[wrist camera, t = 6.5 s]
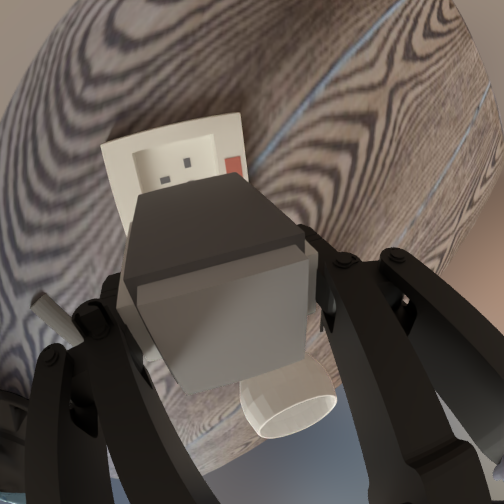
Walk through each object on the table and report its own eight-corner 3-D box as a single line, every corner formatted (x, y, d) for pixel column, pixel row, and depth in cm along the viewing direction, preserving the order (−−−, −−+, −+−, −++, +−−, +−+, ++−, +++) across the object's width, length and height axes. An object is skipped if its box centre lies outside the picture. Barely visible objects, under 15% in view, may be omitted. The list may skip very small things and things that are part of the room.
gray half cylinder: (126, 380, 36) (127, 389, 34) (29, 303, 25) (25, 312, 23) (145, 371, 36) (146, 380, 34) (45, 288, 25) (41, 297, 23)
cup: (217, 306, 33) (257, 411, 21) (294, 294, 36) (355, 379, 24) (218, 359, 38) (249, 447, 26) (283, 346, 42) (326, 422, 29)
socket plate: (160, 310, 31) (162, 324, 29) (105, 142, 20) (100, 145, 18) (255, 284, 33) (262, 295, 31) (233, 112, 23) (240, 112, 21)
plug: (163, 277, 15) (181, 401, 8) (138, 194, 12) (120, 299, 6) (247, 254, 16) (311, 360, 9) (236, 171, 13) (319, 245, 7)
